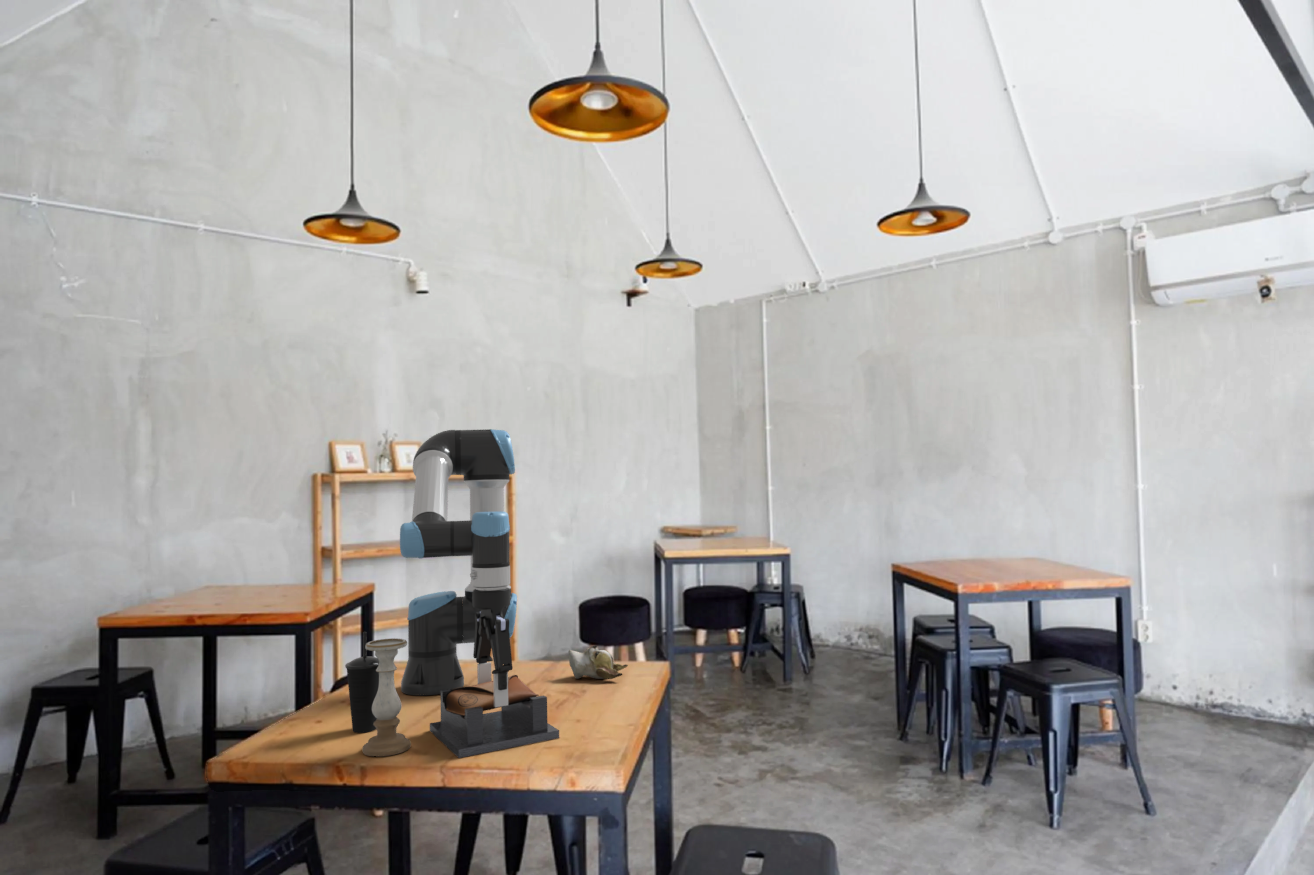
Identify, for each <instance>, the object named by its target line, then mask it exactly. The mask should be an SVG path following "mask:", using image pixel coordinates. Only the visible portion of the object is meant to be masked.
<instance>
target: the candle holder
mask: <svg viewBox="0 0 1314 875" xmlns="http://www.w3.org/2000/svg"><path fill="white" fill-rule="evenodd" d="M406 647H408V641H407V640H406V639H404V638H395V637H394V638H381V639H374V640H371V641H368V642H367V644H366V646H365V648H366V649H367V651H371V652H374V657H376V658H378V660H379V666H378V667H377V669H376V672H379V687H378V691H377V694H376V697H375V699H374V701H373V704H372V713H373V715H374V716H375V717H376V718H377V719H376V721H375V722H374V726H375V727H376V732H377V733H376V735H374V736H372V737H370V738H369V739H368V740H367V742H366V743H364V745H362V754H364V755H365V756H368V757H374V756H376V757H379V758H380V757H389V756H395V755H398V754H402V753H404V752H406V751H408V750H409V749H410V748H411V746H412V742H411V740H410V738H408V737H406V735H405V734H404V733H401V732H397V729H398V728H397V727H398V725H399V724H400V722H401V720H400V718H398V717H397V716H399V714H400V712H401V710H402V702H401V699H400V696H399V694H398V692H397V689H396V686H395V671H396V670H398V668H397V666H396V664H395V658H396V657H397V655H398V654H399V651H398V650H400V649H403V648H406ZM376 757H375V758H376Z"/></svg>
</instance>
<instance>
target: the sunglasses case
mask: <svg viewBox="0 0 1314 875" xmlns="http://www.w3.org/2000/svg"><path fill="white" fill-rule="evenodd" d="M538 696H540V695H539V694H537V693H535V692H534V691H533V690H532V689H531V688H530V687H529V686H527V684H525V683H524V682H523V681H522V679H520V678H519V676H518V674H513V675H510V676H508V705H512V704H516V703H519V702H523V701H526V700H528V699H530V698H532V697H538ZM508 705H507V706H508ZM444 706H445V709H446V711H449V712H451V713H453V714H456V715H462V716H465V709H467V708H473V707H479V706H481V707H482V708H483V712H486V711H490V710H493V709H495V710H496V709H499V708H501V707H503V706H501V707H494V683H493V680H491V681H490V682H485V683H481V684H478V683H477V684H473V685H466V686H463V687H459V688H455V689H452V690H450V691H449V692H448V693H447V694H446V696H445V699H444Z"/></svg>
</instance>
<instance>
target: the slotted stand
mask: <svg viewBox="0 0 1314 875" xmlns="http://www.w3.org/2000/svg"><path fill="white" fill-rule="evenodd" d="M454 689H455V688H454ZM450 690H452V689H448V690H441V694H440V721H436V722H431V723H429V732H431V734H432V735H434V736H435V737H436V738H437V739H438V740H439V741H440V742H441V743H442V744H443V745H444V746H445V747H446V748H447V749H448V750H449V751H451V752H452V753H453V755H455V756H456V757H457V758H458V759H462V758H467V757H471V756H476V755H481V754H486V753H491V752H496V751H497V752H498V751H501V750H505V749H512V748H516V747H521V746H526V745H530V744H536V743H540V742H541V743H542V742H547V741H552V740H555V739H560V730H559V729H557V728H556V727H555V726H553V725H551V724H550V723H548V697H547V696H546V695H539V696H536V697H532V698H530V699H528V700H526V701H523V702H519V703H516V704H512V705H508V706H503V707H500V708H501V710H498V711H492V712H486V713H484V711H483V708H482V707H481V706H479V707H473V708H467V709H465V716H462V715H456V714H453V713H451V712H449V711H446V709H445V706H444V699H445V696H446V694H447V693H448V692H449V691H450Z"/></svg>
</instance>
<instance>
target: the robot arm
mask: <svg viewBox="0 0 1314 875" xmlns="http://www.w3.org/2000/svg"><path fill="white" fill-rule="evenodd" d="M412 472H413V475H414V477H415V484H414V495H413V503H412V504H413V505H412V516H411V521H410V522H404V523H402V524H401V526H400V528H399V550H400V555H401V556H402V557H403V558H405V559H406V558H407V559H410V558H411V559H414V558H415V559H416V558H417V559H427V558H442V557H444V558H445V557H465V556H469V557H470V572H469V576H470V582H469V584H468V585H467V586H466V587H465V589H464V595H463V596H457V595H458V594H457V593H456V591H454V590H448V591H447V590H445V591H438V592H433V593H428V594H424V595H421V596H418V597H415V598H414V599H412V600H410V601H409V604H408V610H407V611H408V613H407V620H406V621H408V622H407V623H408V629H407V630H408V634H407V635H408V638H407V639H408V641H407V647H408V649H407V650H408V651H407V652H408V656H407V657H408V659H407V662H406V665H405V668H404V672H403V676H402V678H401V682H400V692H402V693H403V694H405V695H410V696H434V695H441V690H448V689H454V688H459V687H465V676H464V672H463V669H462V667H461V664H460V661H459V658H458V654H457V645H458V644H459V645H460V644H471V643H472V644H473V654H472V655H473V656H472V657H473V659H475V662H476V663H477V684H481V683H485V682H490V681H493V683H494V707H499V708H501V706H507V705H508V677H509V672H510V671H512V670H513V658H512V657H513V656H512V648H511V637H512V636H513V635H514V630H515V624H516V618H517V604H518V603H517V602H518V595H517V593H514V592H512V586H511V565H510V530H511V526H510V519H509V518H510V517H509V516H510V515H509V513H508V512H507V511H505V495H504V494H505V492H504V491H505V489H504V488H505V487H506V485H507V484H508V483H510V475H511V476H512V475H514V474H515V473H516V468H515V456H514V449H513V444H512V440H511V436H510V434H509V433H508V431H506V430H503V429H491V428H490V429H449V430H448V429H446V430H442V431H440V432H437V433H436V434H434V435H432V436H431V437H429V438H427V439H426V440H425V441H424V442H423V443H422V444H421V445H420V446H419V448H418V449H417V451H416V452H415V454H414V456H413V460H412ZM451 476H463V483H464V484H465V486H467V487H468V488H469V518H470V519H468V520H448V506H449V504H448V502H449V500H448V499H449V478H450V477H451ZM491 654H492V656H491ZM492 662H493V665H494V666H493V667H494V669H493V670H492ZM492 676H493V680H492Z"/></svg>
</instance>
